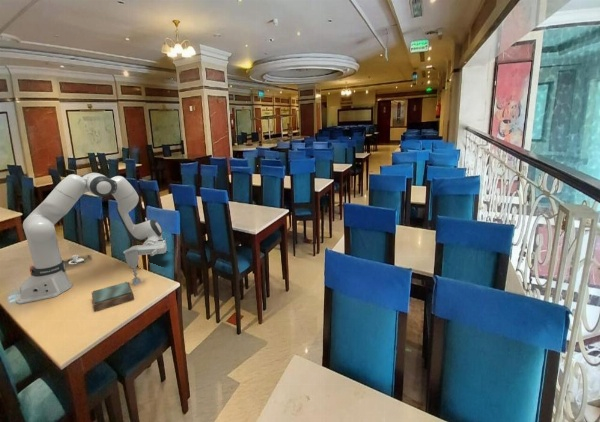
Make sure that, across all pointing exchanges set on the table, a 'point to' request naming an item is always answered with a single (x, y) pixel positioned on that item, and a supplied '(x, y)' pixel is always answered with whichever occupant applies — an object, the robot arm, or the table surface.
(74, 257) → the teacup and saucer
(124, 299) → the plinth
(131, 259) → the chalice
